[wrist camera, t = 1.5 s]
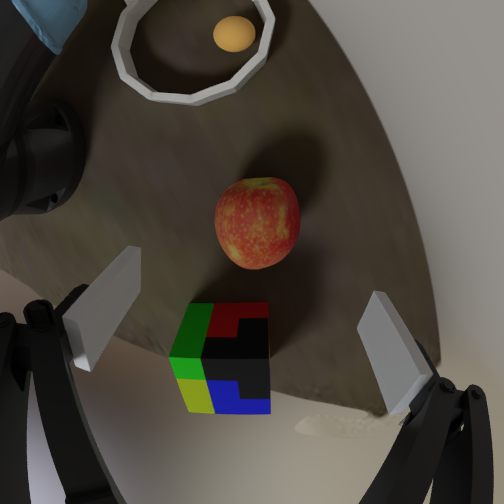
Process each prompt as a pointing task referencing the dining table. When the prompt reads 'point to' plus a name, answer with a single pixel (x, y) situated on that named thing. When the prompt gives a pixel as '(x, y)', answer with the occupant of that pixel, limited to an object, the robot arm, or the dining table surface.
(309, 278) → the dining table surface
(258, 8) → the ring
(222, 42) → the orange egg
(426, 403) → the robot arm
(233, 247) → the apple
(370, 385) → the dining table surface
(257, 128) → the dining table surface
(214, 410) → the puzzle toy
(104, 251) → the dining table surface
